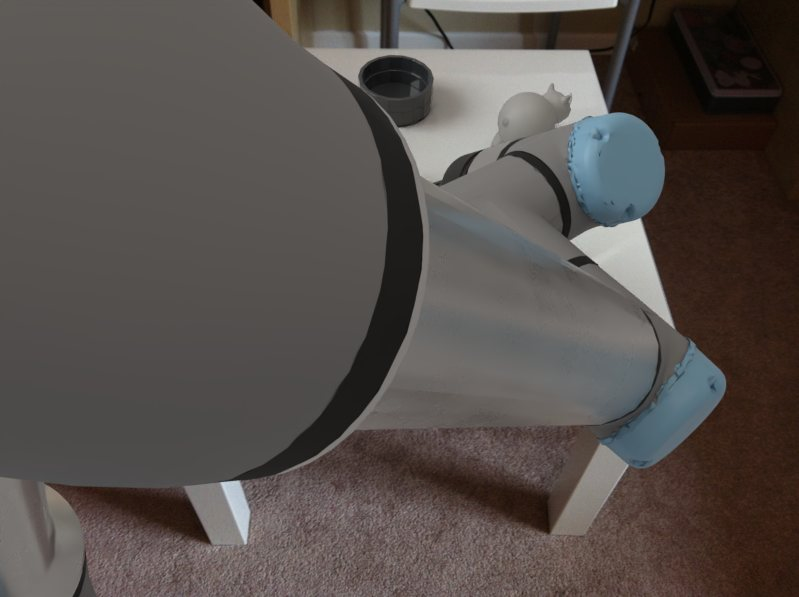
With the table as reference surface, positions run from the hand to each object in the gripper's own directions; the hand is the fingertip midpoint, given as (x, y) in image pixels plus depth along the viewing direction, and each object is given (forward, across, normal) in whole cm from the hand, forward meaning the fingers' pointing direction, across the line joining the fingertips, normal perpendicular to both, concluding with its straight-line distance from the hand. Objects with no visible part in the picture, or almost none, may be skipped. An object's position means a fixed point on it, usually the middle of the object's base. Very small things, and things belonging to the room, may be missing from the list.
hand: (377, 215), depth 83 cm
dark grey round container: (+16, +18, +10) cm, 26 cm away
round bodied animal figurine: (+4, +27, -3) cm, 27 cm away
